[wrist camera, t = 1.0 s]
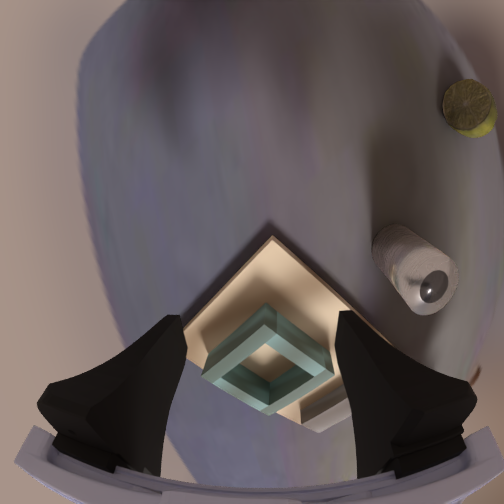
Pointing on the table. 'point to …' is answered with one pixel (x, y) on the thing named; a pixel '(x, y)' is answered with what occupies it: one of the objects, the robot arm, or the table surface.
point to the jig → (274, 339)
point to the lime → (470, 108)
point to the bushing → (415, 268)
